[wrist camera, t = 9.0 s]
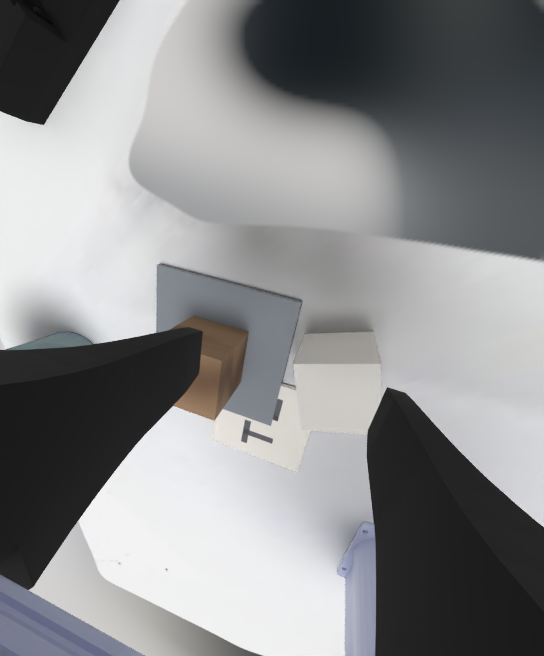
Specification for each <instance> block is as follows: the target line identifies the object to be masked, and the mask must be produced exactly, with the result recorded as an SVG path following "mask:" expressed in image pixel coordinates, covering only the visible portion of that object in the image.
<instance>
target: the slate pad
mask: <svg viewBox="0 0 544 656" xmlns="http://www.w3.org/2000/svg"><path fill="white" fill-rule="evenodd" d="M301 304H302V301H299V300H295V299H291V298H288V297H284V296H280V295H276V294H273V293H269V292H265V291H261V290H257V289H254V288H250V287H246V286H242V285H239V284H235V283H231V282H227V281H223V280H220V279H216V278H212V277H208V276H205V275H201V274H197V273H193V272H189V271H186V270H182V269H178V268H174V267H171V266H167V265H163V264H158V265H157V330H156V333H158V332H163V331H168V330H169V329H171V328H173V327H175V326H176V325H178V324H180V323H181V322H183V321H185V320H187V319H188V318H190V317H192V316H196V317H199V318H203V319H206V320H210V321H213V322H217V323H220V324H223V325H227V326H230V327H234V328H237V329H241V330H244V331H248V332H249V334H248V341H247V347H246V353H245V359H244V366H243V372H242V378H241V383H240V384H239V386H238V387H237V389H236V390H235V392H234V393H233V395H232V396H231V398H230V399H229V400H228V402H227V403H226V405H225V406H224V408H223V409H224V410H227V411H230V412H233V413H236V414H238V415H241V416H244V417H247V418H250V419H252V420H255V421H258V422H261V423H264V424H267V425H269V426H271V424H272V420H273V416H274V412H275V408H276V403H277V399H278V395H279V391H280V387H281V384H282V381H283V377H284V373H285V369H286V365H287V361H288V357H289V353H290V349H291V345H292V341H293V337H294V333H295V329H296V325H297V321H298V317H299V312H300V308H301Z"/></svg>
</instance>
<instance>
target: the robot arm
mask: <svg viewBox="0 0 544 656" xmlns="http://www.w3.org/2000/svg"><path fill="white" fill-rule="evenodd" d="M202 336H203V331H201V330H197V329H194V328H191V327H184V328H178V329H172V330H168V331H163V332H158V333H154V334H149V335H144V336H139V337H134V338H129V339H123V340H118V341H112V342H106V343H100V344H92V345H84V346H75V347H63V348H46V349H29V350H0V656H144V655H142V654H140V653H139V652H137V651H135V650H134V649H132V648H130V647H128V646H126V645H125V644H123V643H121V642H119V641H117V640H116V639H114V638H112V637H110V636H109V635H107V634H105V633H103V632H101V631H100V630H98V629H96V628H94V627H93V626H91V625H89V624H87V623H85V622H84V621H82V620H80V619H78V618H77V617H75V616H73V615H71V614H69V613H68V612H66V611H64V610H62V609H60V608H59V607H57V606H55V605H53V604H51V603H50V602H48V601H46V600H44V599H43V598H41V597H39V596H37V595H35V594H34V593H32V592H30V591H28V590H29V589H31V588H32V587H33V586H34V585H35V583H36V582H37V580H38V579H39V577H40V576H41V574H42V573H43V571H44V570H45V568H46V567H47V565H48V564H49V562H50V561H51V559H52V558H53V556H54V555H55V553H56V552H57V550H58V549H59V547H60V546H61V545H62V543H63V542H64V540H65V539H66V537H67V536H68V534H69V533H70V531H71V530H72V528H73V527H74V525H75V524H76V523H77V521H78V520H79V519H80V517H81V516H82V515H83V513H84V512H85V510H86V509H87V508H88V506H89V505H90V503H91V502H92V501H93V499H94V498H95V496H96V495H97V494H98V492H99V491H100V490H101V488H102V487H103V486H104V485H105V483H106V482H107V481H108V479H109V478H110V477H111V475H112V474H113V473H114V471H115V470H116V469H117V467H118V466H119V465H120V464H121V462H122V461H123V460H124V459H125V457H126V456H127V455H128V454H129V452H130V451H131V450H132V449H133V447H134V446H135V445H136V444H137V443H138V442H139V441H140V439H141V438H142V437H143V436H144V435H145V434H146V433H147V432H148V431H149V430H150V429H151V428H152V427H153V426H154V425H155V424H156V423H157V422H158V421H159V420H160V419H161V417H162V416H163V415H164V414H165V413H166V412H167V411H168V410H169V409H170V408H171V407H172V406H173V405H174V404H175V403H176V402H177V401H178V400H179V399H180V398H181V397H182V396H183V395H184V394H185V393H186V391H187V390H188V389H189V387H190V386H191V385H192V383H193V382H194V380H195V379H196V378H197V376H198V375H199V370H200V359H201V348H202ZM367 462H368V472H369V482H370V491H371V500H372V509H373V518H374V524H371V523H369V522H363V523H362V524H361V526H360V527H359V529H358V531H357V533H356V535H355V537H354V538H353V540H352V542H351V544H350V546H349V548H348V549H347V551H346V553H345V555H344V557H343V559H342V560H341V562H340V564H339V566H338V568H337V574H338V575H340V576H342V577H344V578H345V656H544V527H543V526H541V525H540V524H539V523H538V522H536V521H535V520H534V519H533V518H532V517H530V516H529V515H528V514H527V513H526V512H524V511H523V510H522V509H521V508H520V507H518V506H517V505H516V504H515V503H514V502H513V501H512V500H511V499H509V498H508V497H507V496H506V495H505V494H504V493H503V492H502V491H500V490H499V489H498V488H497V487H496V486H495V485H494V484H493V483H491V482H490V481H489V480H488V479H487V478H486V477H485V476H484V475H483V474H482V473H481V472H480V471H479V470H478V469H477V468H476V467H475V466H474V465H473V464H472V463H471V462H470V461H469V460H468V459H467V458H466V457H465V456H464V455H463V454H462V453H461V452H460V451H459V450H458V449H457V448H456V447H455V446H454V445H453V444H452V443H451V442H450V441H449V440H448V439H447V438H446V437H445V436H444V434H443V433H442V432H441V431H440V430H439V429H438V428H437V427H436V426H435V425H434V423H433V422H432V421H431V420H430V419H429V418H428V417H427V416H426V414H425V413H424V412H423V411H422V410H421V409H420V408H419V407H418V406H417V404H416V403H415V402H414V401H413V400H412V399H411V398H410V397H409V396H408V395H407V394H406V393H404V392H401V391H397V390H394V389H391V388H388V387H387V389H386V391H385V393H384V396H383V398H382V400H381V402H380V404H379V407H378V409H377V411H376V413H375V415H374V418H373V420H372V422H371V424H370V426H369V429H368V436H367Z"/></svg>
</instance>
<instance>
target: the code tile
mask: <svg viewBox="0 0 544 656" xmlns="http://www.w3.org/2000/svg"><path fill="white" fill-rule="evenodd" d="M310 432H311V431H307V430H301V423H300V415H299V407H298V400H297V392H296V387H293V386H289V385H286V384H283V383H282V384H281V387H280V391H279V395H278V399H277V403H276V408H275V412H274V416H273V420H272V424H271V426H269V425H267V424H264V423H261V422H258V421H255V420H252V419H250V418H247V417H244V416H241V415H238V414H236V413H233V412H230V411H227V410H224V409H222V411H221V412H220V414H219V415H218V417H217V418H216V419H215V421H214V428H213V436H212V440H213V441H216V442H219V443H221V444H224V445H226V446H229V447H232V448H234V449H237V450H240V451H242V452H245V453H247V454H250V455H253V456H255V457H258V458H261V459H263V460H266V461H268V462H271V463H274V464H276V465H279V466H282V467H284V468H287V469H289V470H292V471H295V472H297V471H298V468H299V465H300V462H301V459H302V456H303V453H304V450H305V447H306V444H307V441H308V438H309V435H310Z"/></svg>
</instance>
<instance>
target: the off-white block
mask: <svg viewBox="0 0 544 656" xmlns="http://www.w3.org/2000/svg"><path fill="white" fill-rule="evenodd" d="M293 370H294V377H295V385H296V392H297V400H298V407H299V415H300V423H301V430H307V431H321V432H334V433H347V434H361V435H368V429H369V426H370V424H371V422H372V420H373V418H374V415H375V413H376V411H377V409H378V407H379V404H380V402H381V361H380V357H379V353H378V348H377V344H376V339H375V335H374V331H366V332H339V333H311V334H305V335H304V337H303V340H302V342H301V345H300V347H299V350H298V352H297V355H296V357H295V360H294V362H293Z"/></svg>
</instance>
